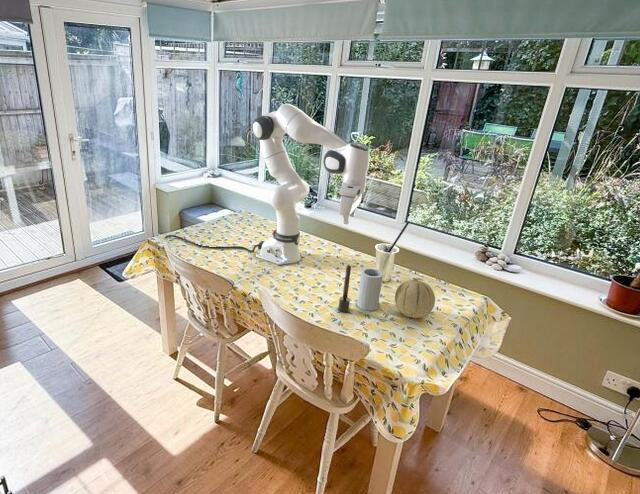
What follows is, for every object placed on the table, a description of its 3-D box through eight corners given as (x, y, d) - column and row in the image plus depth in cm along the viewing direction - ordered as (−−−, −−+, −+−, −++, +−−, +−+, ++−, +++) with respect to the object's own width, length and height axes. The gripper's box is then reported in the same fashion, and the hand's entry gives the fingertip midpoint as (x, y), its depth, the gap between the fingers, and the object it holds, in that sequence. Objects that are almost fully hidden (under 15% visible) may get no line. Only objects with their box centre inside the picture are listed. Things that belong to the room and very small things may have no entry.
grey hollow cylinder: (355, 307, 166) (359, 274, 160) (359, 298, 172) (363, 266, 167) (375, 312, 162) (380, 279, 156) (379, 302, 169) (384, 270, 163)
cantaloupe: (410, 329, 152) (417, 294, 146) (384, 309, 165) (389, 276, 159) (440, 320, 158) (448, 286, 152) (412, 301, 170) (418, 269, 164)
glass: (398, 286, 182) (409, 223, 170) (371, 283, 184) (381, 220, 172) (395, 274, 192) (405, 214, 180) (370, 272, 194) (378, 212, 182)
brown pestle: (337, 310, 163) (342, 266, 155) (339, 306, 166) (344, 261, 159) (347, 313, 161) (352, 268, 154) (349, 308, 165) (355, 264, 157)
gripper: (352, 178, 168) (348, 210, 173) (338, 191, 151) (334, 226, 156) (367, 181, 165) (363, 213, 171) (355, 194, 148) (350, 229, 154)
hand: (349, 219), depth 163 cm, fingers open, 8 cm apart
